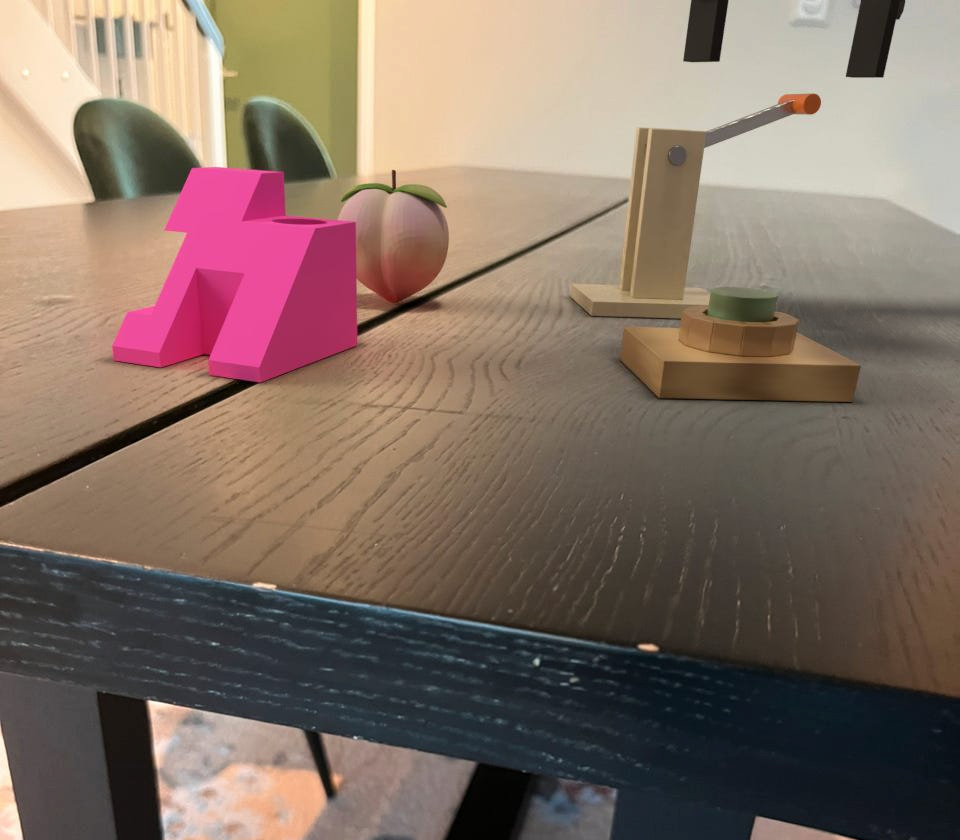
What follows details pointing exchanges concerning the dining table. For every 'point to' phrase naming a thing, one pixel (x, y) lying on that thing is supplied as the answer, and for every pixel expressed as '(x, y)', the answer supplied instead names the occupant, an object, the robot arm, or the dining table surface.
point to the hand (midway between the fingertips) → (786, 70)
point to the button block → (737, 360)
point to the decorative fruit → (397, 236)
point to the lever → (765, 117)
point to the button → (742, 304)
